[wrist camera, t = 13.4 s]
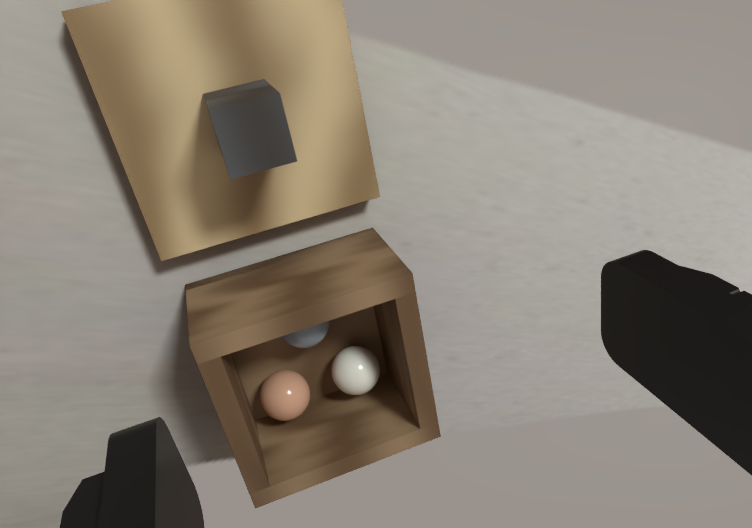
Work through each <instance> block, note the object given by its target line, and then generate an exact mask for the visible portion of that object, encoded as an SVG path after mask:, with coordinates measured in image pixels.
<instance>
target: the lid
mask: <svg viewBox="0 0 752 528" xmlns="http://www.w3.org/2000/svg"><path fill="white" fill-rule="evenodd" d="M62 14H63V17H64V19H65V22H66V24H67V27H68V29H69V32H70V34H71V37H72V39H73V42H74V44H75V47H76V49H77V52H78V54H79V57H80V59H81V62H82V64H83V67H84V69H85V72H86V74H87V77H88V79H89V82H90V84H91V87H92V89H93V92H94V94H95V97H96V99H97V102H98V104H99V107H100V109H101V112H102V114H103V117H104V119H105V122H106V124H107V127H108V129H109V132H110V134H111V137H112V139H113V142H114V144H115V147H116V149H117V152H118V154H119V157H120V159H121V162H122V164H123V167H124V169H125V172H126V174H127V177H128V179H129V182H130V184H131V187H132V189H133V192H134V194H135V197H136V199H137V202H138V204H139V207H140V209H141V212H142V214H143V217H144V219H145V222H146V224H147V227H148V229H149V232H150V234H151V237H152V239H153V242H154V244H155V247H156V249H157V251H158V254H159V256H160V259H161V261H164V260H167V259H171V258H174V257H177V256H181V255H184V254H188V253H191V252H194V251H198V250H201V249H205V248H208V247H211V246H215V245H218V244H221V243H225V242H228V241H232V240H235V239H238V238H242V237H245V236H249V235H252V234H255V233H259V232H262V231H266V230H269V229H272V228H276V227H279V226H283V225H286V224H289V223H293V222H296V221H299V220H303V219H306V218H310V217H313V216H316V215H320V214H323V213H327V212H330V211H333V210H337V209H340V208H344V207H347V206H350V205H354V204H357V203H360V202H364V201H367V200H371V199H374V198H377V197H380V194H379V189H378V184H377V179H376V173H375V168H374V163H373V158H372V153H371V147H370V142H369V137H368V132H367V127H366V121H365V116H364V111H363V106H362V100H361V95H360V90H359V85H358V80H357V74H356V69H355V64H354V59H353V54H352V48H351V43H350V38H349V33H348V28H347V22H346V17H345V12H344V7H343V1H342V0H115V1H110V2H105V3H100V4H96V5H91V6H86V7H81V8H76V9H71V10H66V11H62Z"/></svg>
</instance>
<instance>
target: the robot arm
mask: <svg viewBox="0 0 752 528" xmlns="http://www.w3.org/2000/svg"><path fill="white" fill-rule="evenodd" d="M601 336H602V340H603V343H604V346H605V348H606V350H607V352H608V354H609V356H610V357H611V358H612V360H613V361H614V362H615V363H616V364H617V365H618V366H619V367H621V368H622V369H623V370H624V371H626V372H627V373H628V374H629V375H630V376H632V377H633V378H634V379H635V380H636V381H638V382H639V383H640V384H641V385H643V386H644V387H645V388H646V389H647V390H649V391H650V392H651V393H652V394H653V395H655V396H656V397H657V398H658V399H660V400H661V401H662V402H663V403H664V404H666V405H667V406H668V407H669V408H670V409H672V410H673V411H674V412H675V413H677V414H678V415H679V416H680V417H681V418H683V419H684V420H685V421H686V422H688V423H689V424H690V425H691V426H692V427H694V428H695V429H696V430H697V431H698V432H700V433H701V434H702V435H703V436H705V437H706V438H707V439H708V440H710V441H711V442H712V443H713V444H714V445H715V446H717V447H718V448H719V449H720V450H722V451H723V452H724V453H725V454H726V455H728V456H729V457H730V458H731V459H733V460H734V461H735V462H736V463H737V464H739V465H740V466H741V467H742V468H744V469H745V470H746V471H747V472H749V473H750V474H751V475H752V295H751V294H750V293H748V292H746V291H742V292H740V290H739V288H738V287H736V286H734V285H732V284H730V283H728V282H726V281H724V280H722V279H720V278H719V277H717V276H715V275H713V274H709V273H705V272H702V271H698V270H694V269H690V268H686V267H682V266H678V265H676V264H674V263H673V262H671V261H669V260H667V259H665V258H663V257H661V256H659V255H658V254H656V253H654V252H652V251H649V250H642V251H639V252H636V253H633V254H630V255H628V256H625V257H622V258H619V259H616V260H613V261H610V262H608V263H606V264H605V265H604V267H603V269H602V273H601ZM60 528H204V520H203V514H202V509H201V505H200V501H199V498H198V494H197V491H196V489H195V486H194V483H193V481H192V479H191V477H190V475H189V473H188V470H187V468H186V466H185V464H184V462H183V460H182V457H181V455H180V453H179V451H178V449H177V447H176V445H175V442H174V440H173V438H172V436H171V434H170V432H169V429H168V427H167V425H166V424H165V422H164V420H163V419H162V418H160V417H158V418H155V419H153V420H150V421H147V422H144V423H141V424H138V425H135V426H132V427H130V428H127V429H124V430H121V431H118V432H115V433H112V434H111V435H110V437H109V440H108V448H107V456H106V465H105V472H102V473H99V474H97V475H94V476H91V477H88V478H85V479H83V480H82V481H81V483H80V485H79V486H78V488H77V489H76V491H75V493H74V494H73V496H72V498H71V499H70V501H69V503H68V504H67V506H66V507H65V509H64V511H63V514H62V519H61V524H60Z"/></svg>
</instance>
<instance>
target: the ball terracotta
mask: <svg viewBox="0 0 752 528" xmlns="http://www.w3.org/2000/svg"><path fill="white" fill-rule="evenodd" d="M260 401H261V405H262V407H263V409H264V411H265V412H266V413H267V414H268V415H269V416H270V417H272V418H274V419H276V420H280V421H288V420H292V419H295V418H297V417H298V416H300V415H301V414H302V413H303V412H304V411H305V410H306V408H307V406H308V404H309V401H310V388H309V385H308V383H307V381H306V380H305V378H304V377H303V376H302V375H300V374H299V373H297V372H295V371H292V370H280V371H277V372H275V373H273V374H271V375H270V376H269V377H268V378H267V379H266V380H265V381H264V383H263V385H262V387H261V391H260Z"/></svg>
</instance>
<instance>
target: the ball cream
mask: <svg viewBox="0 0 752 528" xmlns="http://www.w3.org/2000/svg"><path fill="white" fill-rule="evenodd" d="M331 374H332V378H333V381H334V383H335V384H336V386H337V387H338V388H339V389H340V390H341V391H343V392H345V393H347V394H350V395H361V394H364V393H366V392H368V391H370V390H371V389H372V388H373V387H374V386H375V384H376V383H377V381H378V378H379V375H380V366H379V362H378V360H377V358H376V356H375V355H374V354H373V353H372V352H371V351H370V350H369V349H367V348H365V347H361V346H350V347H347V348H345V349H343V350H341V351H340V352H339V353H338V354H337V355H336V357H335V358H334V360H333V363H332V368H331Z"/></svg>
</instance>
